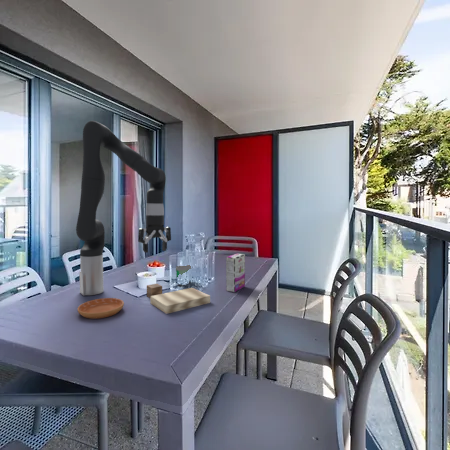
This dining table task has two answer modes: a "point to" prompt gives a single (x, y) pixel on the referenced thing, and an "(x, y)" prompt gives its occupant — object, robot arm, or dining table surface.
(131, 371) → the dining table surface
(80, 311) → the saucer
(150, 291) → the walnut cube
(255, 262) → the dining table surface
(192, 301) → the wooden block
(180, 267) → the food container
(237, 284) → the candy bar box
